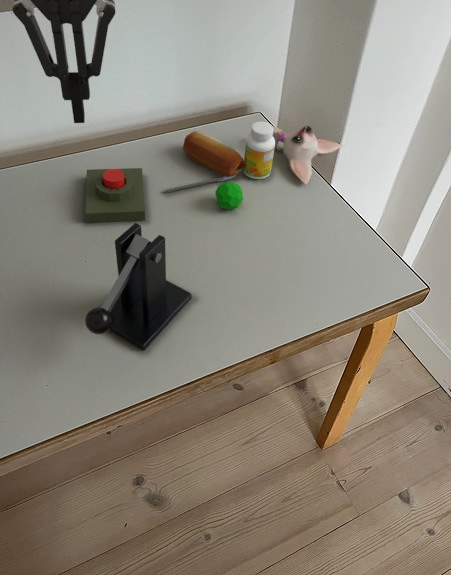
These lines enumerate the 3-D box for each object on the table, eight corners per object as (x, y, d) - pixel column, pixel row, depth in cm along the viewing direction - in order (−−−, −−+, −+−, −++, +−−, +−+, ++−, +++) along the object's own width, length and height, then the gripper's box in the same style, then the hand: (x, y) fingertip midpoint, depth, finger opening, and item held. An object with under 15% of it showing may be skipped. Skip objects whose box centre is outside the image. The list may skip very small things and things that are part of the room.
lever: (108, 341, 77) (96, 337, 73) (88, 328, 78) (75, 324, 74) (161, 249, 78) (151, 241, 75) (140, 238, 79) (130, 230, 76)
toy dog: (285, 90, 115) (350, 124, 111) (278, 121, 121) (339, 154, 117) (244, 126, 107) (312, 164, 103) (239, 158, 114) (303, 194, 110)
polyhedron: (213, 196, 105) (215, 175, 101) (240, 196, 106) (242, 175, 102) (215, 215, 102) (217, 194, 98) (243, 215, 102) (245, 194, 99)
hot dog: (230, 165, 104) (247, 150, 106) (175, 136, 109) (192, 122, 111) (231, 185, 108) (247, 170, 110) (178, 156, 113) (195, 142, 115)
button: (103, 177, 101) (102, 169, 100) (124, 176, 102) (123, 168, 100) (103, 190, 99) (102, 182, 97) (124, 189, 99) (124, 181, 98)
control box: (88, 179, 106) (85, 161, 103) (142, 177, 107) (141, 159, 104) (86, 223, 98) (83, 205, 95) (145, 220, 100) (144, 202, 97)
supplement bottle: (237, 169, 111) (241, 125, 103) (257, 159, 113) (263, 115, 106) (255, 183, 108) (261, 139, 101) (276, 173, 111) (283, 129, 103)
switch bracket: (143, 351, 82) (139, 281, 71) (95, 322, 84) (82, 251, 73) (191, 298, 89) (194, 227, 78) (145, 273, 91) (141, 201, 80)
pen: (166, 189, 104) (236, 173, 109) (166, 189, 105) (235, 174, 109) (168, 193, 104) (237, 177, 109) (167, 194, 105) (236, 178, 109)
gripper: (-5, -48, 64) (32, 133, 82) (113, -45, 66) (125, 131, 84) (1, -71, 69) (35, 104, 87) (111, -68, 71) (122, 103, 89)
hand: (79, 117), depth 85 cm, fingers closed
